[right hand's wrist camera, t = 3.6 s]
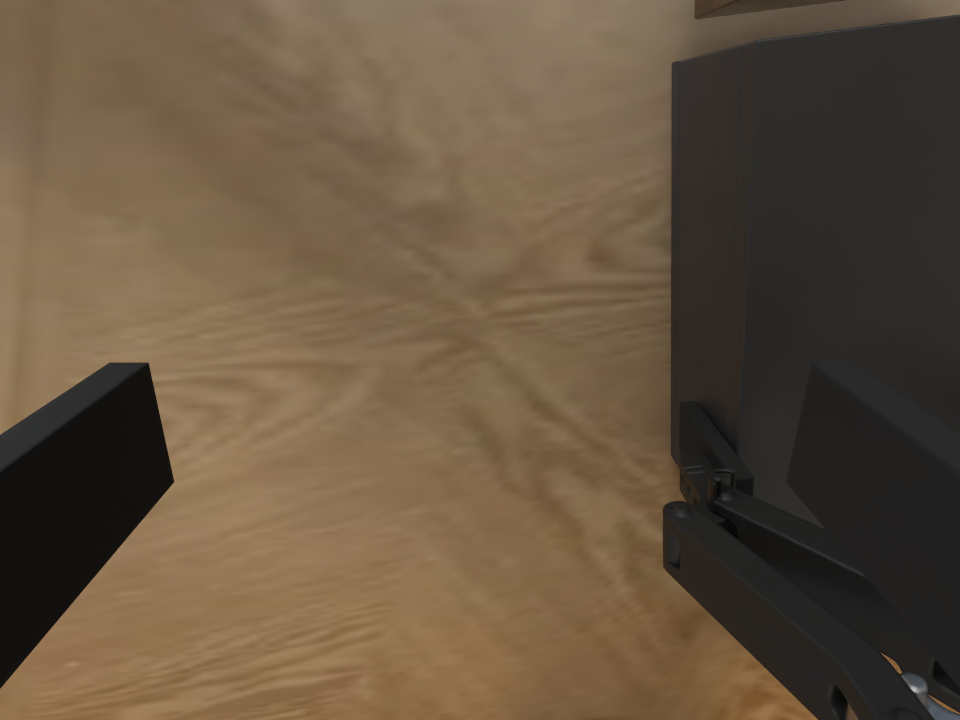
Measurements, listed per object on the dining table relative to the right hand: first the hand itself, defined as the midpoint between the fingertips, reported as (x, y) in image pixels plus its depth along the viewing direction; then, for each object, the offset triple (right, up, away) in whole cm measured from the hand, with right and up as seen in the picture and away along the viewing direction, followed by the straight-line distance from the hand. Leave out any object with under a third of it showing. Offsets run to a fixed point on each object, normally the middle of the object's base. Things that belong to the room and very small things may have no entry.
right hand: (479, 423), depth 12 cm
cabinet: (+15, +6, +18) cm, 24 cm away
